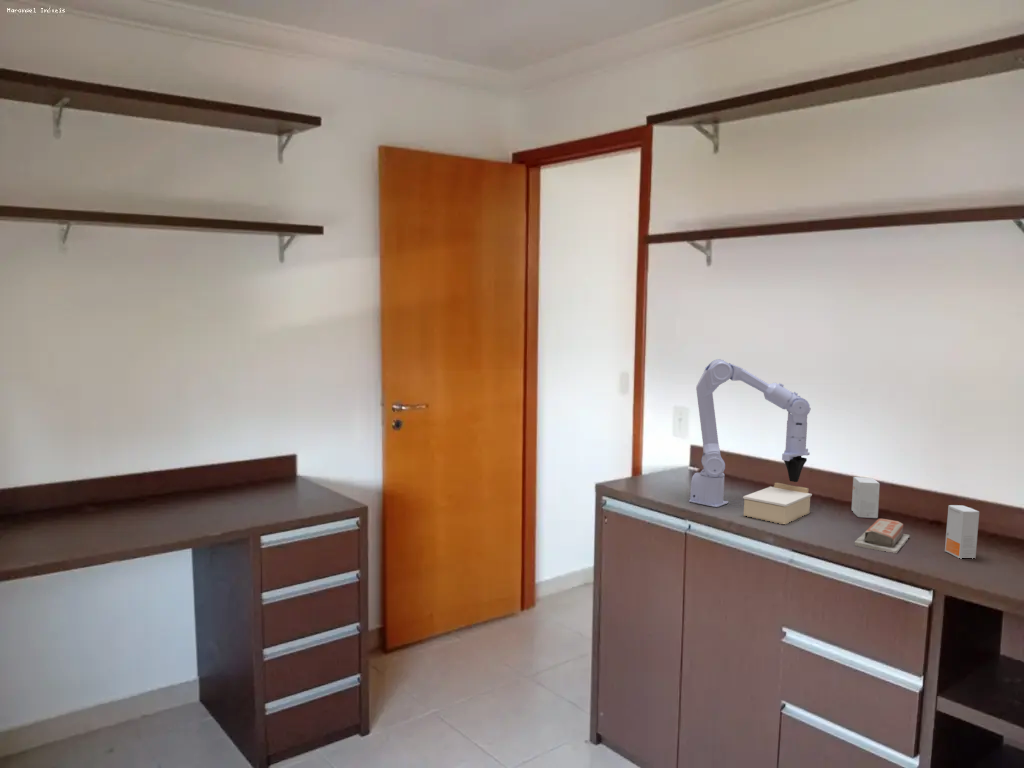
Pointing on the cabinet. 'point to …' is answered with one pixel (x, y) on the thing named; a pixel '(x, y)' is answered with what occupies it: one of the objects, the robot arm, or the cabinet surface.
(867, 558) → the cabinet surface
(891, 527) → the packaged product
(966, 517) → the skincare box
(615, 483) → the cabinet surface
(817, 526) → the cabinet surface
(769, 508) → the box
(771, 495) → the lid
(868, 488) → the small box
